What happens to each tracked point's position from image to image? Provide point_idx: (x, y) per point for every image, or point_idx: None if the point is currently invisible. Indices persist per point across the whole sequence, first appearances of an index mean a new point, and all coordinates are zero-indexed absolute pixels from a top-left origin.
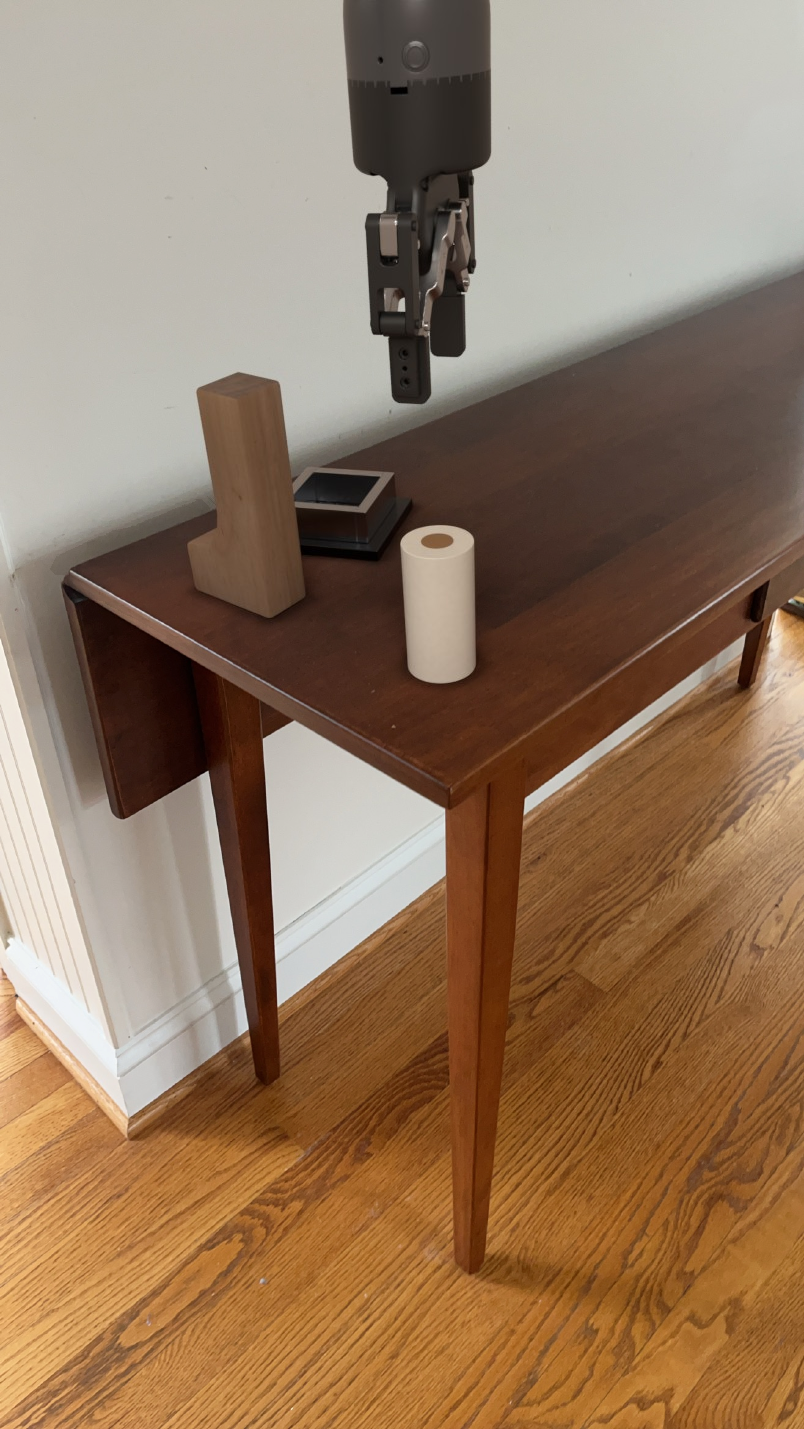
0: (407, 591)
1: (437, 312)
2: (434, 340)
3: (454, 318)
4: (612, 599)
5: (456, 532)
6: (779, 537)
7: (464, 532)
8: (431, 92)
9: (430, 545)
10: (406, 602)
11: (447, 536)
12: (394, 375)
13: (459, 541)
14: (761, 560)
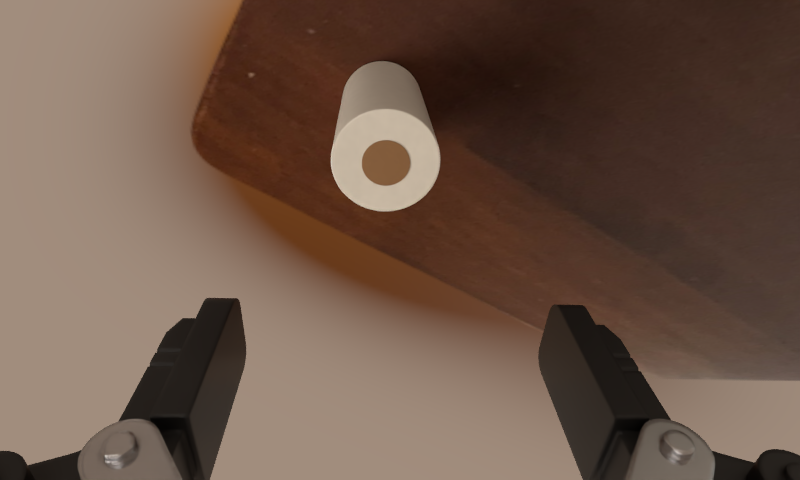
0: (349, 104)
1: (590, 398)
2: (565, 332)
3: (571, 419)
4: (532, 252)
5: (417, 183)
6: (646, 370)
7: (417, 194)
8: None
9: (368, 158)
10: (354, 95)
11: (401, 175)
12: (153, 359)
13: (389, 193)
14: None
